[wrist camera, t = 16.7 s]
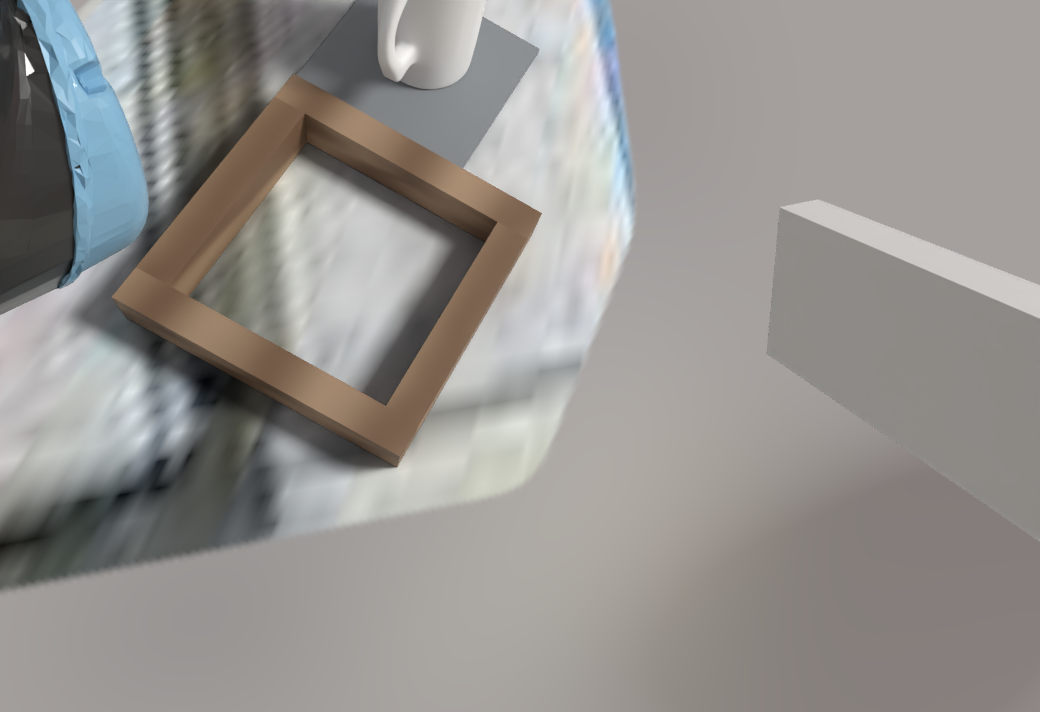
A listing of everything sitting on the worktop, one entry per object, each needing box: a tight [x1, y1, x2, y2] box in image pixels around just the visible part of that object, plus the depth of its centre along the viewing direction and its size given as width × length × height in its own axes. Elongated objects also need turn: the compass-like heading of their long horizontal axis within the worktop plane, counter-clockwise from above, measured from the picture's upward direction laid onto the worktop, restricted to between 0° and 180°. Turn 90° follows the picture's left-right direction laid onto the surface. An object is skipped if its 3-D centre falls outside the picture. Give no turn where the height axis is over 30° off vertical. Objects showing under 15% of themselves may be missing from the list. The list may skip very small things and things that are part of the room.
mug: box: [378, 0, 487, 89], centre depth 46 cm, size 10×7×12 cm, turn 155°
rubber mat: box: [297, 0, 539, 169], centre depth 52 cm, size 12×12×1 cm
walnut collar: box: [112, 73, 542, 467], centre depth 45 cm, size 17×17×3 cm
